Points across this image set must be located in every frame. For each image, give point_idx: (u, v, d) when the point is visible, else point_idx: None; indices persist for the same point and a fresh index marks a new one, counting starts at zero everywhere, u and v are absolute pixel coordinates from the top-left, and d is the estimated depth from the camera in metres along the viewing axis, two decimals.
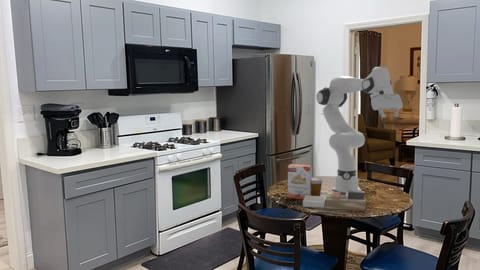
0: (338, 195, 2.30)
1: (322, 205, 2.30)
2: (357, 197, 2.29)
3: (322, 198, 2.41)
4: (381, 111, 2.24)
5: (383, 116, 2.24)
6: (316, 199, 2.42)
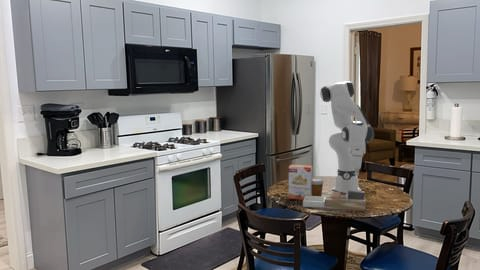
0: (338, 195, 2.30)
1: (322, 205, 2.30)
2: (357, 197, 2.29)
3: (322, 198, 2.41)
4: (358, 170, 2.22)
5: (357, 175, 2.23)
6: (316, 199, 2.42)
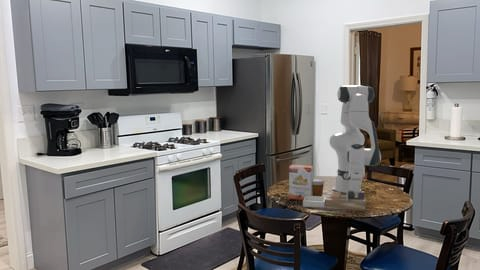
0: (338, 195, 2.30)
1: (322, 205, 2.30)
2: None
3: (322, 198, 2.41)
4: (357, 192, 2.26)
5: (357, 197, 2.28)
6: (316, 199, 2.42)
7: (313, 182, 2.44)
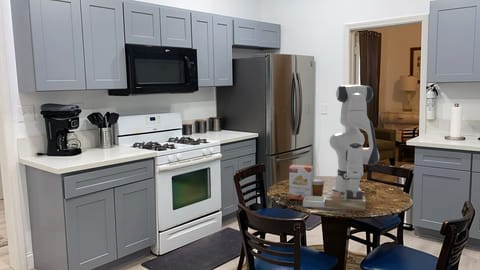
0: (338, 195, 2.30)
1: (322, 205, 2.30)
2: None
3: (322, 198, 2.41)
4: (356, 192, 2.27)
5: (355, 196, 2.28)
6: (316, 199, 2.42)
7: (313, 182, 2.44)
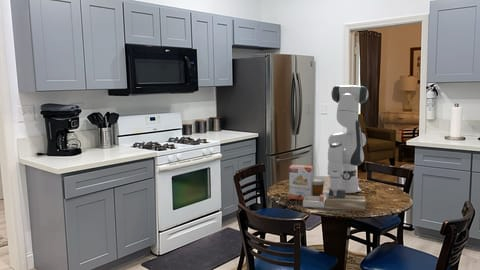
0: (320, 197, 2.33)
1: (322, 205, 2.30)
2: (338, 195, 2.32)
3: None
4: (336, 190, 2.29)
5: (336, 195, 2.31)
6: (316, 199, 2.42)
7: (313, 182, 2.44)
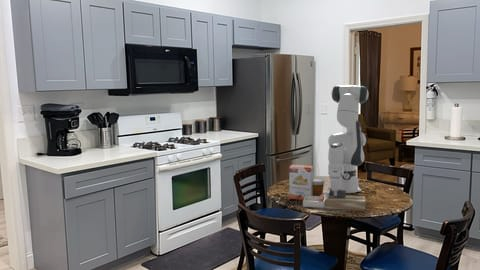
0: (319, 199, 2.33)
1: (322, 205, 2.30)
2: (338, 195, 2.32)
3: None
4: (336, 191, 2.30)
5: (336, 195, 2.31)
6: (316, 199, 2.42)
7: (313, 182, 2.44)
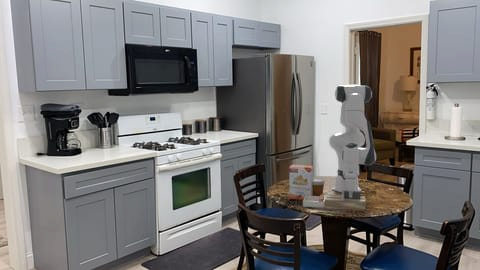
0: (319, 199, 2.33)
1: (322, 205, 2.30)
2: (353, 197, 2.30)
3: None
4: (352, 192, 2.25)
5: (351, 197, 2.27)
6: (316, 199, 2.42)
7: (313, 182, 2.44)
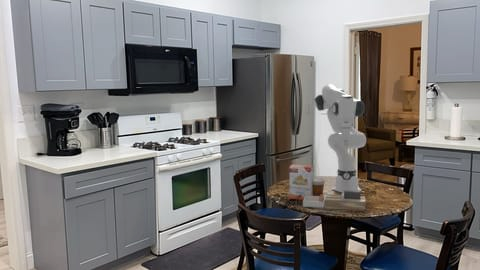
0: (319, 199, 2.33)
1: (322, 205, 2.30)
2: (353, 197, 2.30)
3: None
4: (347, 143, 2.27)
5: (346, 147, 2.28)
6: (316, 199, 2.42)
7: (313, 182, 2.44)
